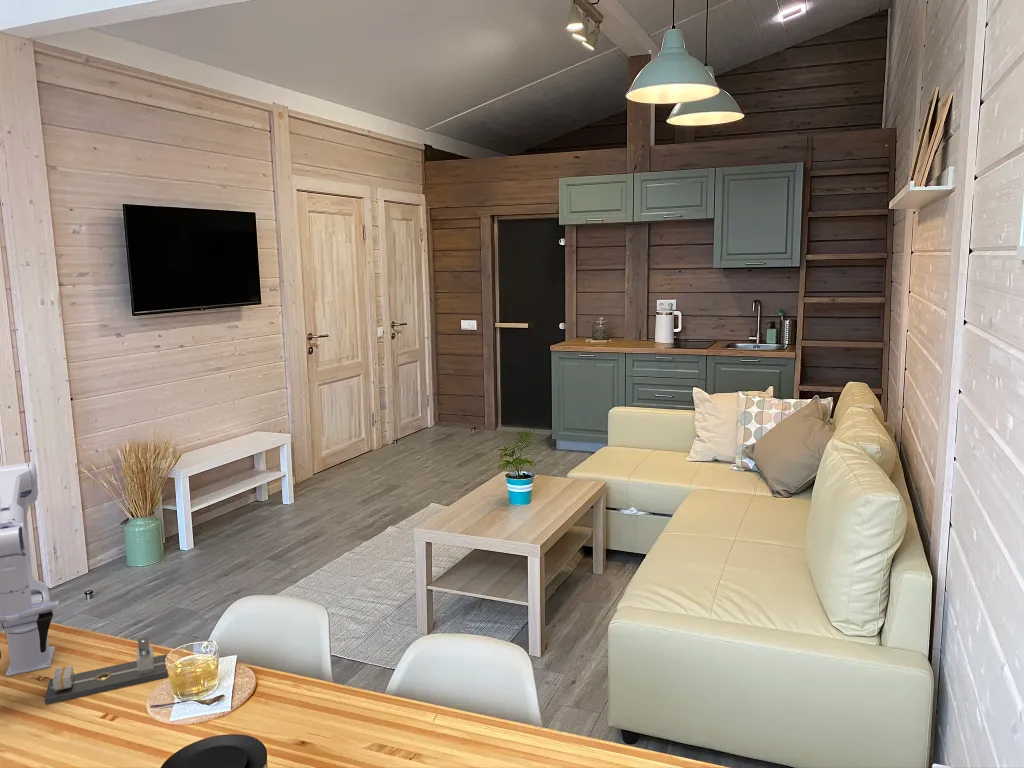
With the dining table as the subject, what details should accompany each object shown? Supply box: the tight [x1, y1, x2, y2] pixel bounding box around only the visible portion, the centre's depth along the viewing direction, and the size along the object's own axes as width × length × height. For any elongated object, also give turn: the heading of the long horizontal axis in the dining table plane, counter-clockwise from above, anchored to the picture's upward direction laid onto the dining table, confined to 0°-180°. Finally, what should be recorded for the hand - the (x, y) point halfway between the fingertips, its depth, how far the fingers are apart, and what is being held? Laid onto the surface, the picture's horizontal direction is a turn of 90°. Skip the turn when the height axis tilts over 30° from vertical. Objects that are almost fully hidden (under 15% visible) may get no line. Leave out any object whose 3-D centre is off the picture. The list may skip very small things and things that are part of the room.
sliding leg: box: [52, 664, 75, 691], centre depth 154 cm, size 5×3×2 cm, turn 25°
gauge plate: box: [44, 637, 169, 706], centre depth 157 cm, size 8×22×7 cm, turn 115°
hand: (21, 655), depth 150 cm, fingers open, 7 cm apart
